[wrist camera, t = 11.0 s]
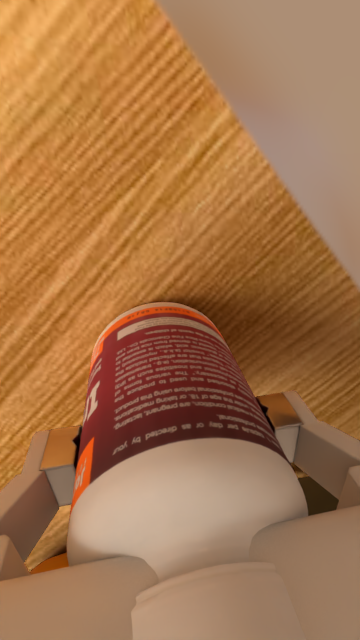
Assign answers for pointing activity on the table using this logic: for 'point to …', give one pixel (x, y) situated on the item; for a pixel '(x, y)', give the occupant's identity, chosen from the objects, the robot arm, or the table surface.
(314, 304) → the table surface
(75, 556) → the pill bottle
